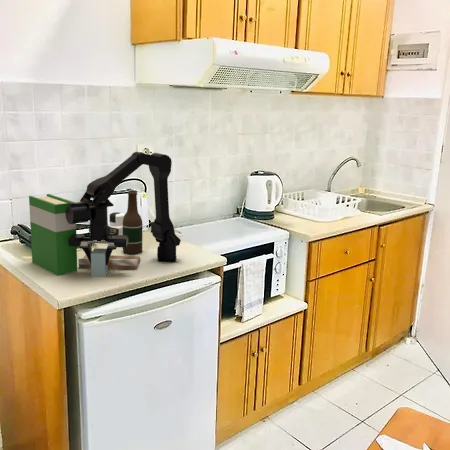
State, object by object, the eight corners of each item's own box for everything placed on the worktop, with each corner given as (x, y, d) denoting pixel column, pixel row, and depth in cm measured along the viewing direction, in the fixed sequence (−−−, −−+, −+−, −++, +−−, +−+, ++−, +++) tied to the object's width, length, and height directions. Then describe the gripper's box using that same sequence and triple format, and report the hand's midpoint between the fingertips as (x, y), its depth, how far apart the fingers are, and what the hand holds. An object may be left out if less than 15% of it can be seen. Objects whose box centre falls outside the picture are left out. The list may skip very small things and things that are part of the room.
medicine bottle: (104, 242, 209) (104, 213, 206) (116, 238, 215) (115, 210, 212) (118, 244, 206) (118, 216, 203) (129, 241, 212) (129, 213, 209)
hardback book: (32, 262, 181) (28, 196, 175) (51, 258, 186) (49, 193, 180) (57, 275, 169) (54, 205, 163) (77, 271, 174) (75, 202, 169)
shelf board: (140, 260, 189) (140, 251, 188) (136, 270, 178) (136, 260, 177) (85, 258, 187) (85, 249, 187) (78, 268, 176) (78, 259, 176)
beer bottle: (144, 249, 201) (145, 190, 195) (139, 255, 194) (139, 193, 188) (125, 248, 202) (125, 188, 196) (119, 254, 194) (119, 192, 188)
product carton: (108, 270, 176) (107, 248, 174) (104, 276, 170) (104, 253, 168) (94, 270, 176) (94, 248, 174) (91, 276, 170) (90, 253, 168)
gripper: (130, 215, 177) (130, 258, 181) (75, 213, 176) (77, 256, 179) (125, 223, 166) (126, 268, 170) (67, 221, 165) (69, 267, 169)
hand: (99, 265), depth 172 cm, fingers closed on product carton, 5 cm apart
